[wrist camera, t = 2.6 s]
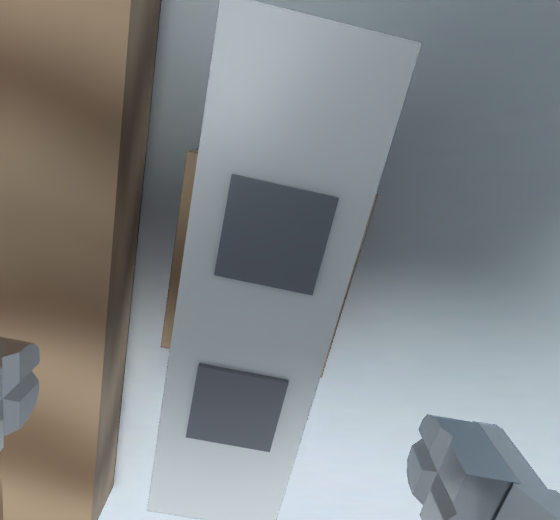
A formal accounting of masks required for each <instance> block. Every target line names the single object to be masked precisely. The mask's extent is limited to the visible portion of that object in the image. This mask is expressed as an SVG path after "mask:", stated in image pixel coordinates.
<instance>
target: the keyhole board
mask: <svg viewBox="0 0 560 520" xmlns="http://www.w3.org/2000/svg"><path fill="white" fill-rule="evenodd" d="M160 6H161V0H0V337H5V338H10V339H15V340H20V341H25V342H30V343H35V344H36V345H37V346H38V347H39V353H40V363H39V364H38V365H37V366H36V367H35V368H34V369H33V370H32V372H33V373H34V374H35V376H36V377H37V379H38V380H39V394H38V398H37V402H36V405H35V407H34V409H33V411H32V413H31V415H30V417H29V418H28V420H27V421H26V422H25V423H24V424H23V426H22V427H21V428H20V429H19V430H17V431H15V432H13V433H10V434H8V435H6V436H4V448H3V449H2V450H1V451H0V520H98V518H99V516H100V514H101V511H102V509H103V507H104V505H105V503H106V501H107V498H108V496H109V494H110V492H111V490H112V488H113V481H114V471H115V461H116V451H117V441H118V431H119V421H120V410H121V400H122V390H123V380H124V370H125V360H126V350H127V340H128V330H129V319H130V309H131V299H132V289H133V279H134V269H135V259H136V249H137V239H138V228H139V218H140V208H141V198H142V188H143V178H144V168H145V158H146V147H147V137H148V127H149V117H150V107H151V97H152V87H153V77H154V67H155V56H156V46H157V36H158V26H159V16H160Z"/></svg>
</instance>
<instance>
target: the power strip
mask: <svg viewBox="0 0 560 520" xmlns="http://www.w3.org/2000/svg"><path fill="white" fill-rule="evenodd" d="M421 44H422V43H421V42H417V41H413V40H409V39H405V38H401V37H397V36H393V35H389V34H385V33H381V32H377V31H373V30H369V29H365V28H361V27H357V26H353V25H349V24H346V23H342V22H338V21H334V20H330V19H326V18H322V17H318V16H314V15H310V14H306V13H302V12H298V11H294V10H290V9H286V8H282V7H278V6H274V5H270V4H266V3H262V2H258V1H254V0H220V3H219V10H218V17H217V24H216V31H215V38H214V45H213V52H212V59H211V66H210V73H209V80H208V87H207V94H206V101H205V108H204V115H203V122H202V129H201V136H200V143H199V150H198V157H197V164H196V171H195V178H194V185H193V191H192V198H191V205H190V212H189V219H188V226H187V233H186V240H185V247H184V254H183V261H182V268H181V275H180V282H179V289H178V296H177V303H176V310H175V317H174V324H173V331H172V338H171V345H170V352H169V359H168V366H167V373H166V380H165V387H164V394H163V401H162V408H161V415H160V422H159V429H158V436H157V443H156V450H155V457H154V464H153V471H152V478H151V485H150V492H149V499H148V506H147V511H151V512H157V513H163V514H169V515H175V516H181V517H188V518H194V519H200V520H277V517H278V514H279V511H280V508H281V504H282V501H283V498H284V494H285V491H286V488H287V485H288V481H289V478H290V475H291V471H292V468H293V465H294V462H295V458H296V455H297V452H298V448H299V445H300V442H301V439H302V435H303V432H304V429H305V425H306V422H307V419H308V416H309V412H310V409H311V406H312V402H313V399H314V396H315V393H316V389H317V386H318V383H319V379H320V376H321V373H322V370H323V366H324V363H325V360H326V356H327V353H328V350H329V347H330V343H331V340H332V337H333V333H334V330H335V327H336V324H337V320H338V317H339V314H340V310H341V307H342V304H343V301H344V297H345V294H346V291H347V287H348V284H349V281H350V278H351V274H352V271H353V268H354V264H355V261H356V258H357V255H358V251H359V248H360V245H361V241H362V238H363V235H364V232H365V228H366V225H367V222H368V218H369V215H370V212H371V209H372V205H373V202H374V199H375V195H376V192H377V189H378V186H379V182H380V179H381V176H382V172H383V169H384V166H385V163H386V159H387V156H388V153H389V149H390V146H391V143H392V140H393V136H394V133H395V130H396V126H397V123H398V120H399V117H400V113H401V110H402V107H403V104H404V100H405V97H406V94H407V90H408V87H409V84H410V81H411V77H412V74H413V71H414V67H415V64H416V61H417V58H418V54H419V51H420V48H421Z"/></svg>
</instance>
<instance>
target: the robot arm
mask: <svg viewBox="0 0 560 520" xmlns="http://www.w3.org/2000/svg"><path fill="white" fill-rule="evenodd" d="M39 363H40V353H39V347H38V346H37V345H36V344H35V343H30V342H25V341H20V340H15V339H10V338H5V337H0V451H1V450H2V449H3V448H4V436H6V435H8V434H10V433H13V432H15V431H17V430H19V429H20V428H21V427H22V426H23V424H24V423H25V422H26V421H27V420H28V418H29V417H30V415H31V413H32V411H33V409H34V407H35V405H36V402H37V398H38V394H39V380H38V379H37V377H36V376H35V374H34V373H33V372H32V370H33V369H34V368H35V367H36V366H37V365H38V364H39ZM419 432H420V434H421V437H422V439H421V440H420V441H418V442H417V443H415V444H414V445H412V447H411V450H410V453H409V456H408V460H407V477H408V483H409V486H410V489H411V492H412V494H413V495H414V496H415V497H416V498H417V499H418V500H419V501H420V502H421V503H422V504H423V508H422V510H421V513H420V517H421V519H422V520H560V494H559V493H558V492H557V491H555V490H550V489H547V487H546V486H545V485H544V483H543V482H542V481H541V479H540V478H539V477H538V475H537V474H536V473H535V471H534V470H533V469H532V467H531V466H530V465H529V463H528V462H527V461H526V460H525V458H524V457H523V456H522V454H521V453H520V452H519V450H518V449H517V448H516V446H515V445H514V444H513V442H512V441H511V440H510V438H509V437H508V436H507V434H506V433H505V432H504V430H503V429H502V428H500V427H499V426H497V425H495V424H488V423H481V422H474V421H473V422H470V421H464V420H458V419H452V418H446V417H440V416H434V415H428V414H427V415H426V417H425V418H424V419H423V420H422V422H421V425H420V427H419Z"/></svg>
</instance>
